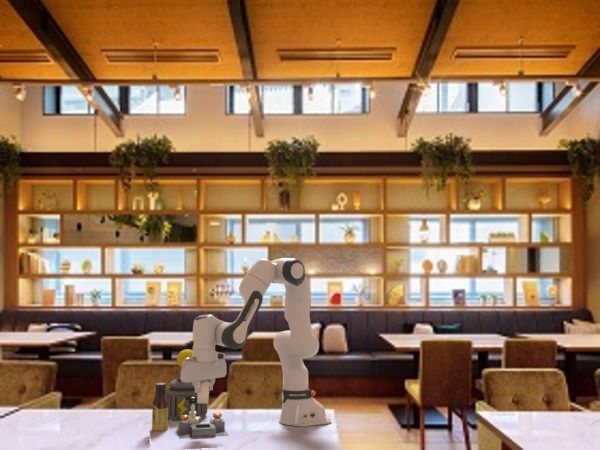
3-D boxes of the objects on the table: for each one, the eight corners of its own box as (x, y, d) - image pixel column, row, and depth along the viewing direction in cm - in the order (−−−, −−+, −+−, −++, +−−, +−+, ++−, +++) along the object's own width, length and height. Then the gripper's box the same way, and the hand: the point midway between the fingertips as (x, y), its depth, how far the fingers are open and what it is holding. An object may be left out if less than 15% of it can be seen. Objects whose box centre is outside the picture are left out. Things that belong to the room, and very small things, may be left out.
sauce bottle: (153, 431, 269) (154, 382, 270) (168, 431, 269) (169, 381, 271) (150, 435, 262) (151, 384, 264) (166, 435, 263) (167, 384, 264)
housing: (223, 430, 271) (223, 418, 271) (228, 439, 256) (228, 426, 257) (176, 433, 266) (176, 420, 266) (179, 442, 252) (179, 429, 252)
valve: (197, 428, 275) (197, 398, 276) (182, 427, 277) (182, 398, 277) (202, 424, 282) (202, 395, 283) (187, 423, 283) (188, 395, 284)
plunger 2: (221, 426, 269) (221, 412, 269) (222, 428, 266) (222, 414, 266) (212, 427, 268) (212, 413, 269) (213, 429, 265) (213, 415, 265)
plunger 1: (188, 428, 266) (189, 414, 266) (189, 430, 262) (189, 416, 263) (179, 428, 265) (180, 415, 265) (180, 431, 261) (180, 416, 262)
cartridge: (202, 402, 262) (204, 377, 264) (210, 403, 260) (212, 378, 262) (194, 402, 259) (196, 377, 261) (202, 403, 256) (204, 378, 258)
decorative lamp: (204, 421, 287) (204, 351, 289) (160, 421, 287) (162, 351, 290) (210, 412, 306) (211, 347, 308) (170, 412, 306) (171, 346, 308)
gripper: (186, 359, 252) (186, 396, 251) (228, 354, 266) (228, 388, 265) (177, 357, 256) (177, 393, 255) (219, 352, 270) (219, 386, 270)
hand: (203, 391), depth 260 cm, fingers closed on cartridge, 5 cm apart
